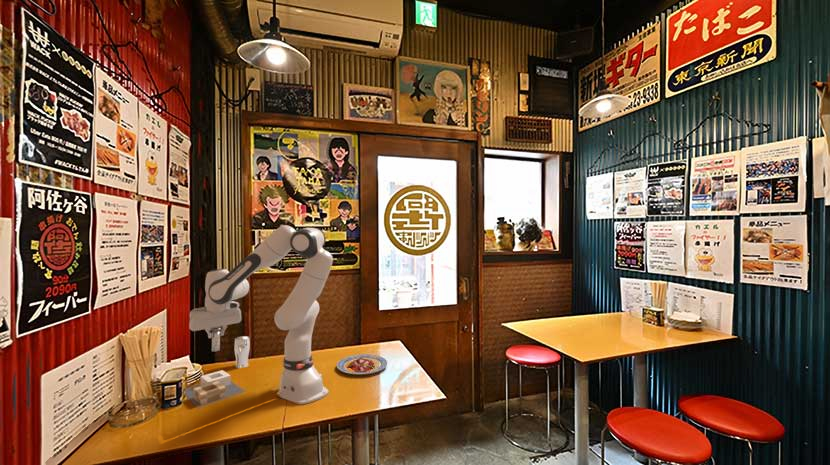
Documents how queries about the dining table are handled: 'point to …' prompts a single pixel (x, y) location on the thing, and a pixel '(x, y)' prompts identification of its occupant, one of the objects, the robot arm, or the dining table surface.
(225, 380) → the socket block
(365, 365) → the ceramic plate
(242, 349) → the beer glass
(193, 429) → the dining table surface
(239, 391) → the rubber mat
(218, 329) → the steel pin
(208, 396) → the mount block
